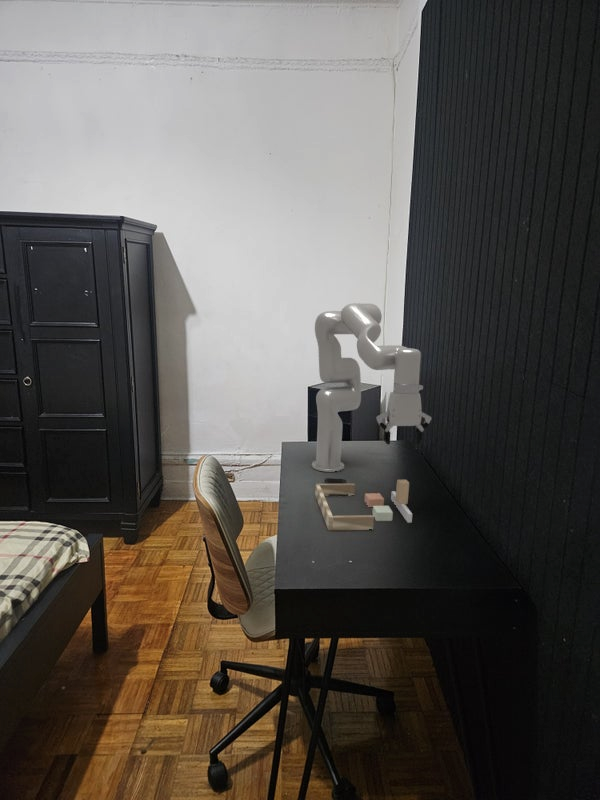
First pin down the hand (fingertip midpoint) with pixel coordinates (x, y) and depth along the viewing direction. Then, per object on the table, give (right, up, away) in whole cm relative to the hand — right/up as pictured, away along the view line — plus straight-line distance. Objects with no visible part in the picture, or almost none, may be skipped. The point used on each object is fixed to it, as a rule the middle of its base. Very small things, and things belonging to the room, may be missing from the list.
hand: (402, 443), depth 167 cm
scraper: (0, -22, +4) cm, 22 cm away
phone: (-19, -18, +20) cm, 33 cm away
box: (-18, -22, +2) cm, 28 cm away
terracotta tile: (-8, -21, +8) cm, 24 cm away
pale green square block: (-7, -23, -2) cm, 24 cm away
